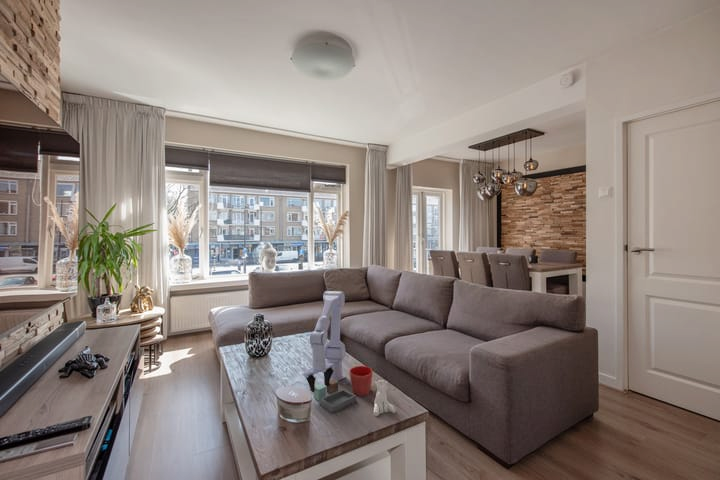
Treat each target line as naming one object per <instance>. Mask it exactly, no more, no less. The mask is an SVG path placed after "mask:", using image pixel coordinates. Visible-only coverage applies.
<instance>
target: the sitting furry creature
mask: <svg viewBox="0 0 720 480" xmlns="http://www.w3.org/2000/svg"><path fill="white" fill-rule="evenodd" d="M374 384H375V385H376V390H377V392H376V394H375V398H374V403H373V416H374V417H378V416H379V415H380V414H384V413H388V412H391V413H392V414H395V413H396V411H397V409H396V407H395V405H394V404H392V403H390V402H389V400H388V394H387V390H388V380H387V381H386V380H384V379H381V380H380V379H378V380H377V381H374Z"/></svg>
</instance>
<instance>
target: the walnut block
mask: <svg viewBox="0 0 720 480" xmlns="http://www.w3.org/2000/svg"><path fill="white" fill-rule="evenodd" d="M325 386H326V385H325ZM339 390H340V389H339V380H338V381H337V380H335V379H331V380H330V381H329V386H326V394H328V395H330V394H332V393H334V392H337V391H339Z"/></svg>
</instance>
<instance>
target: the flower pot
mask: <svg viewBox="0 0 720 480" xmlns="http://www.w3.org/2000/svg"><path fill="white" fill-rule="evenodd" d="M349 377H350V383H351V387H352V391H353V392H352V393H353V394H354V395H356V396H366V395H368V394H369V393H370V392H371V386H372V379H373V369H372V368H371V367H370V366H365V365H357V366H354V367H352V368H350V369H349Z"/></svg>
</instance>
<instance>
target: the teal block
mask: <svg viewBox="0 0 720 480" xmlns="http://www.w3.org/2000/svg"><path fill="white" fill-rule="evenodd" d="M325 396H327V389H326V385H325V384H322V383H319V384H315V391H314V392H313V398H314V399H315V400H316V401H319V402H320V399H321V398H323V397H325Z"/></svg>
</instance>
